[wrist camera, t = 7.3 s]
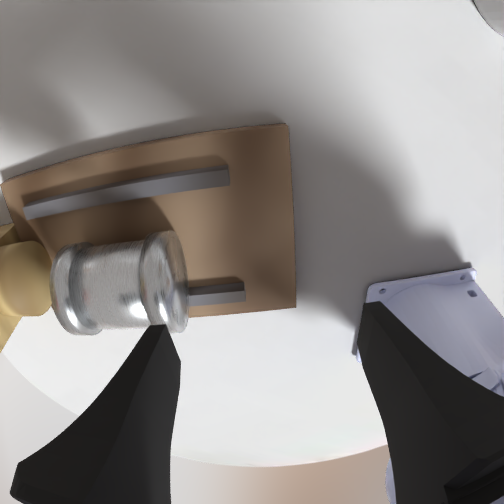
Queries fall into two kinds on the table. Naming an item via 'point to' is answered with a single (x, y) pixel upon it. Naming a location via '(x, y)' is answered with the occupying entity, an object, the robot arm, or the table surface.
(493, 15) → the coffee cup
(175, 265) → the pipe coupling
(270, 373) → the table surface
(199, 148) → the slider rig
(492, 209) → the table surface
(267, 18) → the table surface
